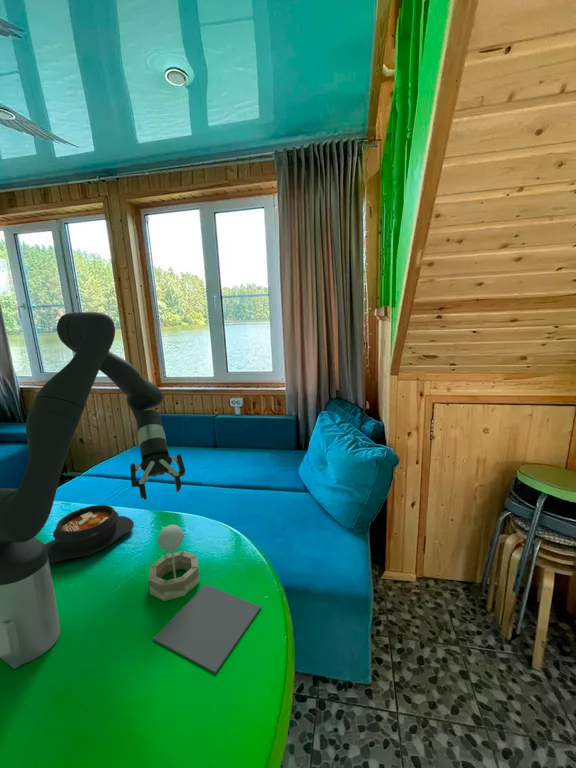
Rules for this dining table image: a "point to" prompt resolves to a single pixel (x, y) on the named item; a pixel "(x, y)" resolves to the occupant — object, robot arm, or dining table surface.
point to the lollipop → (171, 540)
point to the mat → (208, 627)
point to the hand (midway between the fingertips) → (162, 494)
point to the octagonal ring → (177, 585)
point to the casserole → (86, 532)
